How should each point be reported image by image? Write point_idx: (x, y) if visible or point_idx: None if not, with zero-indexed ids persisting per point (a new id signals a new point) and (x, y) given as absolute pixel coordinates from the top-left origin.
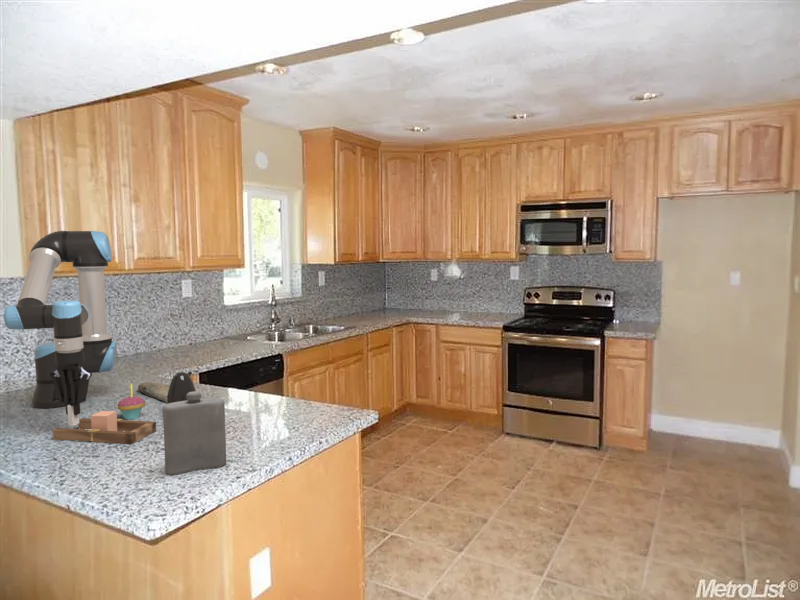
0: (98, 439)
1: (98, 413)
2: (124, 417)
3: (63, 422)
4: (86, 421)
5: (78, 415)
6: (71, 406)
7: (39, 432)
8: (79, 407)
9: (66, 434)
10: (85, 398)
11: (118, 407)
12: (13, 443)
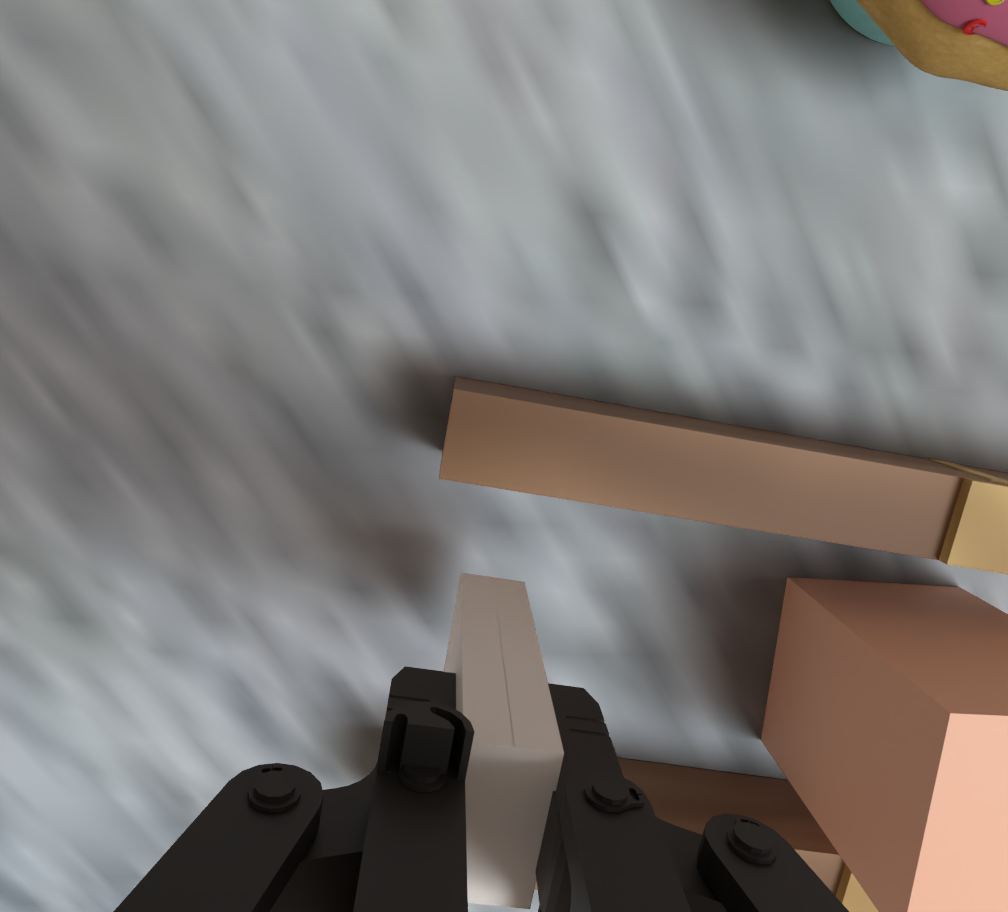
0: None
1: (964, 833)
2: (856, 23)
3: (52, 153)
4: (573, 496)
5: (533, 636)
6: (524, 894)
7: (38, 558)
8: (612, 768)
9: None
10: (813, 901)
11: (893, 12)
12: (30, 884)
